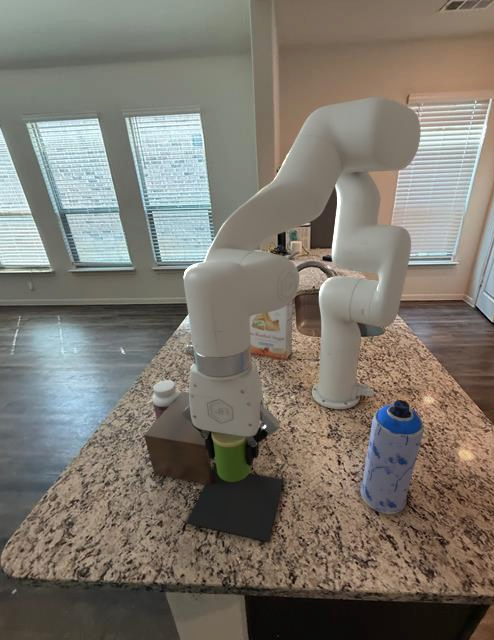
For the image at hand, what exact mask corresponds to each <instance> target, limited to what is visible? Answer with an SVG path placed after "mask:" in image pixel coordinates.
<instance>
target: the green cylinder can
mask: <svg viewBox="0 0 494 640" xmlns="http://www.w3.org/2000/svg"><path fill="white" fill-rule="evenodd" d="M212 439H213V444H214V451H215V457H214V459H215V467H217V473H218V475H219V477H220V478H221V479H223V480H225V481H228V482H236V481H240V480H242V479H244V478H245V477H246V476H247V475H248V474H249V473H251V471H252V465H251V466H248V464H247V462H246V445H247V442H248V441H247V439H246V437H245V436H238V435H232V434H225V433H219V432H213V431H212Z"/></svg>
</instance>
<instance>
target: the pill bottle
mask: <svg viewBox="0 0 494 640" xmlns="http://www.w3.org/2000/svg"><path fill="white" fill-rule="evenodd" d="M152 388H153V395H152V398H151V399H152V405H153V410H154V415H155V419H156V420H157V419H158V418H159V417H160V416H161V415H162V414H163V412H164V411H165V410H166V409H167V408H168V407H169V406H170V404H171V403H172V402H173V401H174V400H175V399H176V397H177V396H178V395H179V394H180V393H181V392H180V391H179V389H177V387H176V382H175V381H173V380H170V379H165V380H161V381H157V382H156V383H155V384H154V385H153V387H152Z"/></svg>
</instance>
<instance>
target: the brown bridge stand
mask: <svg viewBox="0 0 494 640" xmlns="http://www.w3.org/2000/svg"><path fill="white" fill-rule="evenodd" d="M189 405H190V402H189V392H186V391H181V392H180V394H179V395H178V396H177V397H176V399H175V400H174V401H173V402H172V403H171V404H170V406H169V407H168V408H167V409H166V410H165V411H164V412H163V414H162V415H161V416H160V417H159V418H158V419H156V420H155V422H153V424H152V425H151V427H150V428H149V429H148V430H146V432H145V433H144V435H143V437H144V441H145V444H146V448H147V452H148V457H149V459H150V462H151V467H152V471H153V474H154V475H157V476H161V477H166V478H171V479H177V480H182V481H188V482H193V483H197V484H203V485H206V483H209V484H211V483H212V481H213V476H212V471H213V468H212V463H211V459H209V456H208V450H206V445H205V439H203V438H202V437H201V433H200V432H199V431H198V430H197V429H196V428H195V427H193V425H192V423H191V422H189V421H188V420H187V419H185V418H184V417H183V416H182V413H183V411H184V410H185V409H186V408H187V407H188V406H189Z"/></svg>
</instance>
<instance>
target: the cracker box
mask: <svg viewBox="0 0 494 640" xmlns="http://www.w3.org/2000/svg"><path fill="white" fill-rule="evenodd" d="M249 320H250V339H251V354H254V355H258V356H263V357H270V358H275V359H281V360H286V361H287V359H288V358H289V357H290V355H291V354H292V351H293V300H292V301H291V302H290V303H289V304H287V305H286V306H285V307H283V308H281V309H279V310H275V311H271V312H266V313H261V314H256V315H252V316H251V317H250V319H249Z"/></svg>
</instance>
